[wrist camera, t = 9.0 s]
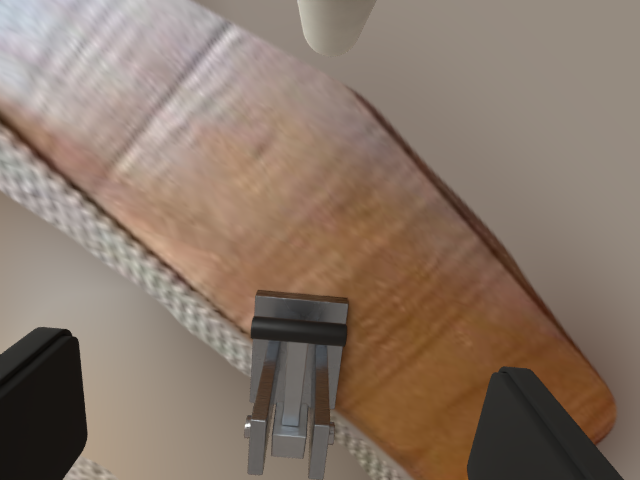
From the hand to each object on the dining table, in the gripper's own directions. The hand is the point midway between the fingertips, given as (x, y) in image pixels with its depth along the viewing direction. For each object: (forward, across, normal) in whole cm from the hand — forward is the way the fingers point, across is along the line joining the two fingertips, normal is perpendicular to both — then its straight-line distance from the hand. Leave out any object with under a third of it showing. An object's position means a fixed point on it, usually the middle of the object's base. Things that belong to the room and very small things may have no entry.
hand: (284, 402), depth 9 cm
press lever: (+14, 0, +9) cm, 17 cm away
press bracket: (+24, 0, +14) cm, 28 cm away
